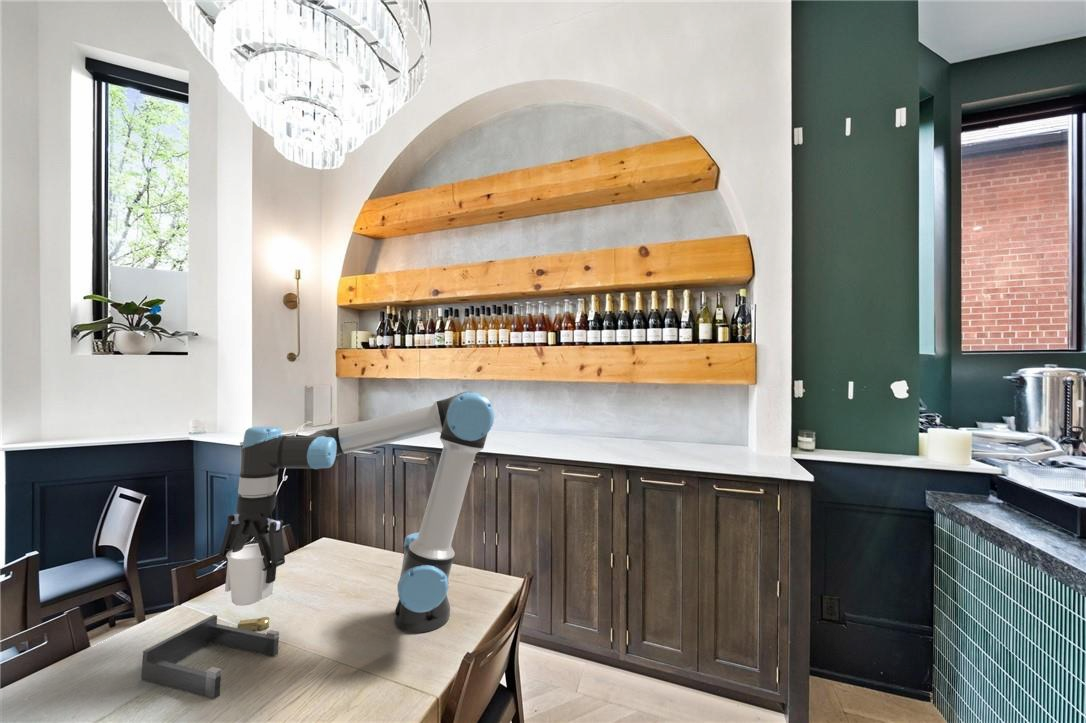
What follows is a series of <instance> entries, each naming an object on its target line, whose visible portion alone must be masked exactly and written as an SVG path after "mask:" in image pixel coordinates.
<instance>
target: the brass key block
mask: <svg viewBox="0 0 1086 723" xmlns="http://www.w3.org/2000/svg"><path fill="white" fill-rule="evenodd" d="M269 627H270V617H269V616H264V617H260V618H251V619H241V620H239V622H238V623H237V627H236V628H239V629H244V630H249V631H254V632H255V631H266V630H267V629H269Z"/></svg>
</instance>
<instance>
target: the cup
mask: <svg viewBox="0 0 1086 723" xmlns="http://www.w3.org/2000/svg"><path fill="white" fill-rule="evenodd" d="M226 557H227V558H228V567H229V576H230V585H231V586H230V587H231V590H230V595H231V596H230V597H231V602H232V604H234V605H236V606H238V607H239V606H240V607H241V606H250V605H252V604H256V603H257V602H260V601H261V600H260V599H259V594H260V583H261V572H262V569H264V568H265V565H264V562H263V558H264V556H262V555H261V552H260V548H259V545H258V542H257V543H249V544H245V545H244V547H243V549H242V550H240V551H238V552H233V550H230V551H229V552H228V553H227V554H226ZM270 563H271V561H270Z"/></svg>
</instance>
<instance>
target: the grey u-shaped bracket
mask: <svg viewBox="0 0 1086 723" xmlns="http://www.w3.org/2000/svg"><path fill="white" fill-rule="evenodd" d="M217 622H218V615H216V614H213V615H210V616H208V617H206V618H204V619H202V620H200V621H199V622H197V623H195V624H193V625H191V626H189V627H187V628H185V629H183V630H181V631H179V632H178V633H175V634H174V635H171V636H170V637H168V638H165V639H164V640H162V641H159V642H158V643H156V644H154V645H152V646H149V648H146V649H145V650H143V651H142V660H141V674H140V681H143V682H147V683H149V684H150V683H151V684H154V685H159V686H161V687H166V688H170V689H175V690H178V691H181V692H185V693H188V694H192V695H196V696H199V697H200V696H201V697H204V698H207V699H211V700H215V699H217V698H219V697H220V695H221V685H222V684H221V683H222V682H221V681H222V668H219V667H215V666H212V667H210V668H208V669H207V670H202V669H198V668H193V667H190V666H185V665H182V664H177V663H179V662H180V661H182V660H184V659H186V658H188V657H190V656H191V655H193V654H194V653H196V652H198V651H199V650H202V649H203V648H204V647H207V646H208V645H210V644H213V645H217V646H218V645H219V646H223V647H226V648H231V649H235V650H240V651H245V652H248V653H249V652H250V653H253V654H257V655H262V656H267V657H272V658H274V657H275V656H278V653H279V641H280V639H279V638H280V637H279V636H280V631H278V630H273V629H270V630H268V631H267V632H266V633H262V632H257V631H255V630H254V631H249V630H244V629H239V628H237V627H233V626H229V625H225V624H219V623H217Z"/></svg>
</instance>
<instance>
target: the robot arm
mask: <svg viewBox="0 0 1086 723" xmlns="http://www.w3.org/2000/svg"><path fill="white" fill-rule="evenodd" d="M494 422H495V413H494V408H493V406H492V403H491V402H490V400H488V398H487V397H486V396H484V395H482V394H481V393H477V392H475V391H474V392H473V391H472V392H471V391H463V392H460V393H458V394H456V395H455V394H454V395H453V396H450V397H447V398H445V399H439V400H437V401H435V402H434V403H433V404H432V405H429V406H425V407H421V408H417V409H412V410H408V411H407V410H406V411H404V412H399V413H394V414H389V415H385V416H382V417H376V418H373V419H368V420H364V421H359V422H355V423H350V424H347V425H342V426H341V425H340V426H339V427H338V426H337V427H333V428H325V429H320V430H318V431H315V432H313V433H311V434H308V435H305V436H304V435H301V436H298V435H297V436H294V435H293V436H289V435H283V429H282V428H281V427H279V426H270V425H269V426H267V425H266V426H252V427H248V429H246V430H245V431H244V435H243V442H242V446H241V461H240V473H239V480H238V488H237V489H238V490H237V494H239V496H238V497H237V501H236V502H237V504H236V512H237V513H234V514H231V515H228V516H227V525H226V529H225V532H224V536H223V540H222V543H221V546H220V550H219V554H218V556H219V558H224V561H225V575H226V577H225V586H224V587H225V588H224V592H231V587H230V586H231V585H230V576H229V567H228V558H227V557H226V554H227V553H228V552H229V551H230V550H233V552H238V551H240V550H242V549H243V547H244V545H246V543H247V540H249V537H250V536H251V537H253V538H254V541H255V542H257V543H258V545H259V548H260V552H261V555H262V556H264V558H263V562H264V565H265V568H264V569H262V572H261V583H260V594H259V599H260V601H261V600H264V599H266V598H268V597H271V596H272V595H273V592H274V591H273V589H274V582H275V581H276V576H277V568H278V567H280V566H283V565H284V564H285V563H286V559H285V558H286V557H285V549H284V548H285V546H284V538H283V525H284V521H283V520H282V519H278V520H275V519H273V516H272V515H273V514H272V513H273V511H274V510H275V508H276V504H277V503H276V502H277V494H276V491H277V490H278V489H277V488H278V478H279V469H314V470H319V469H329V468H331V467H333V465H334V463H335V460H336V457H338V456H343V455H346V454H349V453H352V452H356V451H357V452H359V451H362V450H365V449H370V448H373V447H379V446H383V445H387V444H393V443H396V442H400V441H404V440H408V439H409V440H410V439H413V438H416V437H417V438H418V437H420V436H425V435H429V434H434V433H437V432H438V433H440V436H439V440H440V442H441V444H442V445H443V446H442V451H441V453H440V454H441V455H440V458H439V461H438V465H437V468H436V472H435V476H434V478H433V482H432V486H431V490H430V493H429V496H428V500H427V504H426V508H425V509H424V514H423V518H422V521H421V525H420V528H419V531H418V532H413V533H410V534H407V535H406V537H405V538H404V544H403V545H402V546H403V559H402V565H401V571H400V576H399V580H398V584H397V595H398V602H397V605H396V607H395V608H394V614H393V616H394V617H393V623H394V626H395V628H397V629H398V630H401V631H402V632H405V633H410V634H411V633H413V634H419V633H427V632H431V631H434V630H437V629H439V628H440V627H443V626H444V625H446V623H447V622H448V621H449V620H450V618H449V617H451V604H450V601H449V598H448V591H449V587H450V586H449V576H450V574H451V568H452V565H453V561H454V558H455V554H456V553H455V550H454V549H453V547H452V543H453V539H454V535H455V531H456V528H457V525H458V521H459V516H460V513H461V509H462V506H463V502H464V499H465V495H466V491H467V489H468V488H467V487H468V485H469V481H470V476H471V473H472V470H473V465H474V462H475V459H476V454H478V453H479V452H481V451H482V450H484V447H485V445H486V441H487V437H488V434H489V432H490V431H491V429H492V427H493V424H494ZM270 561H271V563H270Z"/></svg>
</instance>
